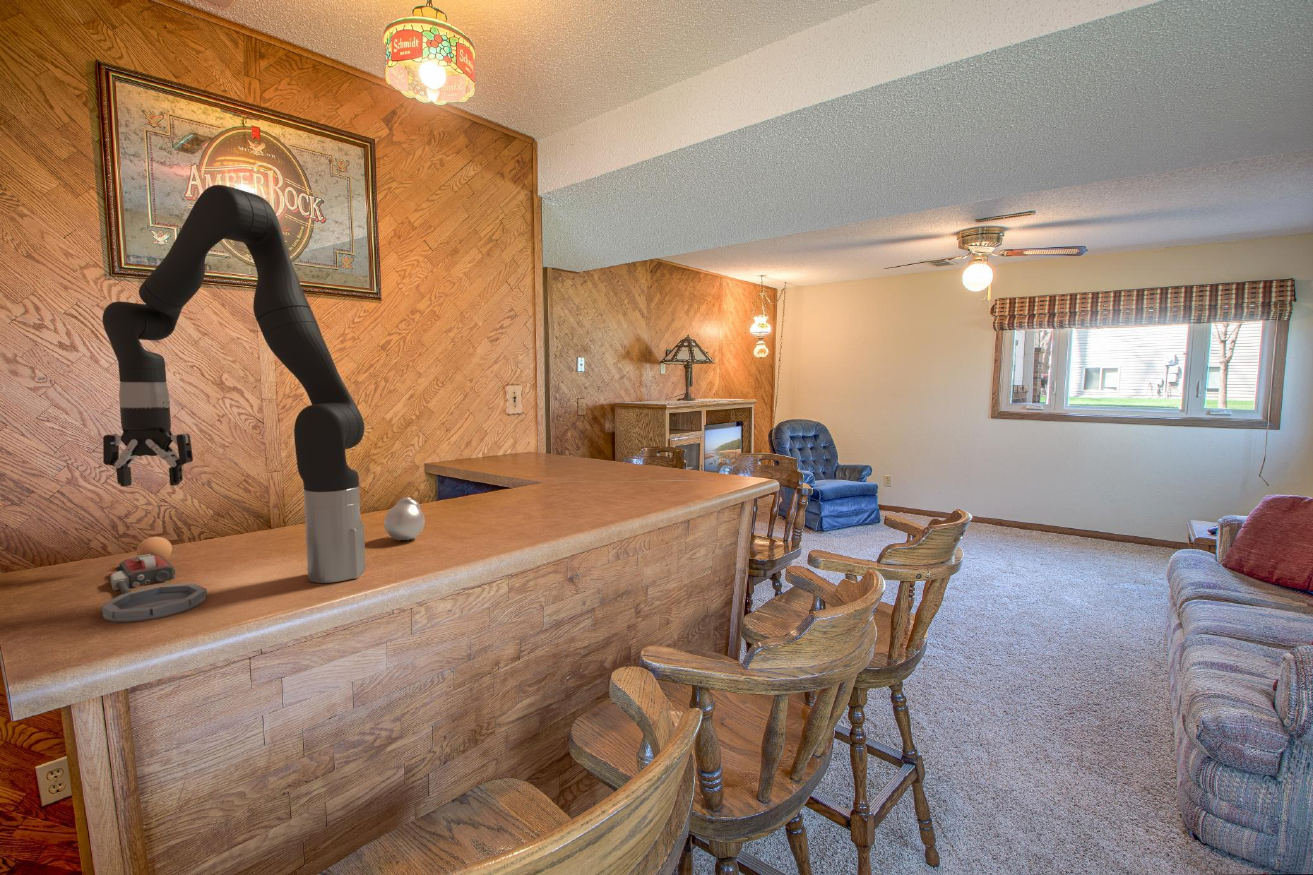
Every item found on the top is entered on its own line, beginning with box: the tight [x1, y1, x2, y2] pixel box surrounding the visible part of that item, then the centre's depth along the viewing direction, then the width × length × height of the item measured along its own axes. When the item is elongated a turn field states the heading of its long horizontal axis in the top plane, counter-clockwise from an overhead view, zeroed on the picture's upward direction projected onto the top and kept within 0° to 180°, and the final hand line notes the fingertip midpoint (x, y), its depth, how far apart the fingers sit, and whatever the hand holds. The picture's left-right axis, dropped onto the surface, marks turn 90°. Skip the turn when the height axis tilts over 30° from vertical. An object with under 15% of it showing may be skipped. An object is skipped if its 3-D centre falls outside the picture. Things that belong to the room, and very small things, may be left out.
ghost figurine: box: [383, 496, 426, 541], centre depth 139 cm, size 9×9×10 cm
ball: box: [136, 536, 173, 560], centre depth 119 cm, size 6×6×6 cm
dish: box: [101, 582, 208, 623], centre depth 97 cm, size 13×13×2 cm
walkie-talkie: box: [109, 554, 176, 594], centre depth 109 cm, size 9×4×20 cm
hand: (151, 485), depth 118 cm, fingers open, 8 cm apart
